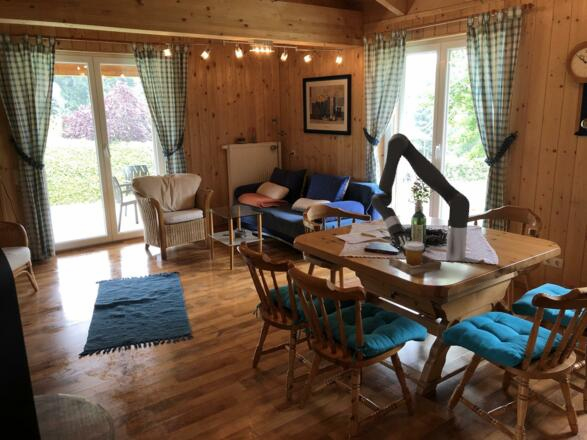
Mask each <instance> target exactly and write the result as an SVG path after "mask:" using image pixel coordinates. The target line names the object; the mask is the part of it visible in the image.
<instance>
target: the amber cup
mask: <svg viewBox="0 0 587 440" xmlns="http://www.w3.org/2000/svg"><path fill="white" fill-rule="evenodd" d="M404 247H405V252H406V257H405V263H407V264H409V265H411V266H417V265H422V263H421V260H422V255H424V254H423V253H424V249H425V247H426V246H425V244H424V243H423V242H422V241H417V240H412V241H408V242H406V243H405V245H404Z"/></svg>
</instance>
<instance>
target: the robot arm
mask: <svg viewBox="0 0 587 440" xmlns="http://www.w3.org/2000/svg"><path fill="white" fill-rule="evenodd" d="M402 157H403V158H404V159H406V161H407V162H408V163H409V164H408V165H410V167H411V168H412V170H413V172H414V173H415V175H416V176H417V177H418V178H419V180H421V181H422V182H423V183H424V184H425V185H426V186H427V187H428V188H430V189H431V190H433V191H434V192H436V193H437V194H438V195H439V196H440V197H441V199H443V200H444V201H445V203H446V204H447V205H448V208H449V210H448V211H449V215H448V219H447V235H446V251H445V252H446V253H445V258H446V260H449V261H452V262H462V261H465V260H466V253H467V251H466V250H467V235H468V224H469V223H468V222H469V220H470V219H469V217H470V207H471V206H470V200H469V199H468V198H467V196H466V195H465V194H463V193H462V192H460V191H459V190H458V189H456V187H454V186H453V185H452V184H451V183H450V182H449V181H448V180H447V178H446V177H445V175H443V173H442V172H441V170H440V169H438V168H437V166H435V165H434V163H432V162H431V161H430V160H429V159H428V158H427V157H426V156H425V155H424V154H422V152H420V151H419V150H418V149H417V147H416V146H415V145H414V144H413V143H412V141H411V140H410V139H409V138H408V136H406V135H405V134H403V133H399V132H397V133H395V134H393V135H392V136H391V137H390V139H389V140H388V143H387V150H386V160H385V163H384V166H383V170H382V173H381V175H380V180H379V184H378V189H379V190H380V192H383V193H376V194H375V193H374V194H373V195H372V197H371V205H372V207H373V208H374V209H375V211H376V212H377V213H378V214H379V215H380V217H381V218H382V220H383V222H384V225H385V228H386V230H387V232H388V234H389V236H390V237H391V241H390V242H389V245H390V246H392V247H393V248H395V249H396V250H397V251H398V252H399V251H401V252H402V253H403V255H404V257H405V258H406V252H405V247H404V245H405V243H406V242H408V241H413V238H412V237H409V236H407V234H406V233H405V229H404V227H403V225H402V223H401V221H400V219H399V218H398V215H397V214H396V212H395V209H394V208H393V207H390V205H391V204H392V201H393V188H394V185H395V180H396V178H397V177H396V176H397V172H398V171H397V170H398V165H399V163H400V160H401V158H402Z"/></svg>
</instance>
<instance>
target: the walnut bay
mask: <svg viewBox="0 0 587 440" xmlns="http://www.w3.org/2000/svg"><path fill="white" fill-rule="evenodd" d="M388 266H390V267H393V268H394V269H397V270H399V271H401V272H403V273H405V274H407V275H409V276H411V277H414V276H418V275H424V274H428V273H432V272H438V271H441V269H442V268H441V267H442V261H439V260H438V259H434V258H433V257H430V256H428V255H425V254H423V255H422V260H421V265H417V266H411V265H409V264H407V263H406V262H404V261H402V260H400V259H397V258H395V257H393V256H389V259H388Z"/></svg>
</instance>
